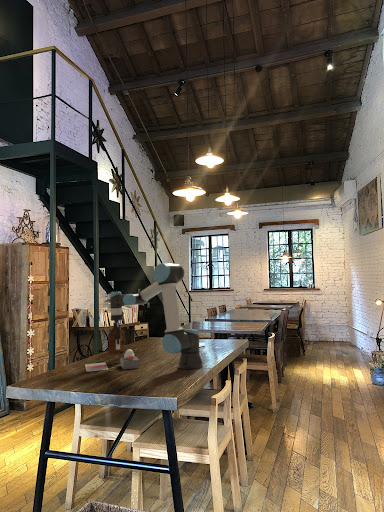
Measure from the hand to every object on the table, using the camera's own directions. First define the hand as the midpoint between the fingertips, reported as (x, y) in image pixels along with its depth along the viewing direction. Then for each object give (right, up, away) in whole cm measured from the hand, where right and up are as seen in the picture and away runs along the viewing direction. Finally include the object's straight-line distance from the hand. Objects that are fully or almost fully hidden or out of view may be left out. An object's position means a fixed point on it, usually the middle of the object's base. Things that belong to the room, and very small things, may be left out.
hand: (117, 348), depth 254 cm
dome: (+10, -3, -13) cm, 17 cm away
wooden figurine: (0, -4, -1) cm, 4 cm away
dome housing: (+11, -8, -15) cm, 20 cm away
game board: (-11, -9, -12) cm, 19 cm away
